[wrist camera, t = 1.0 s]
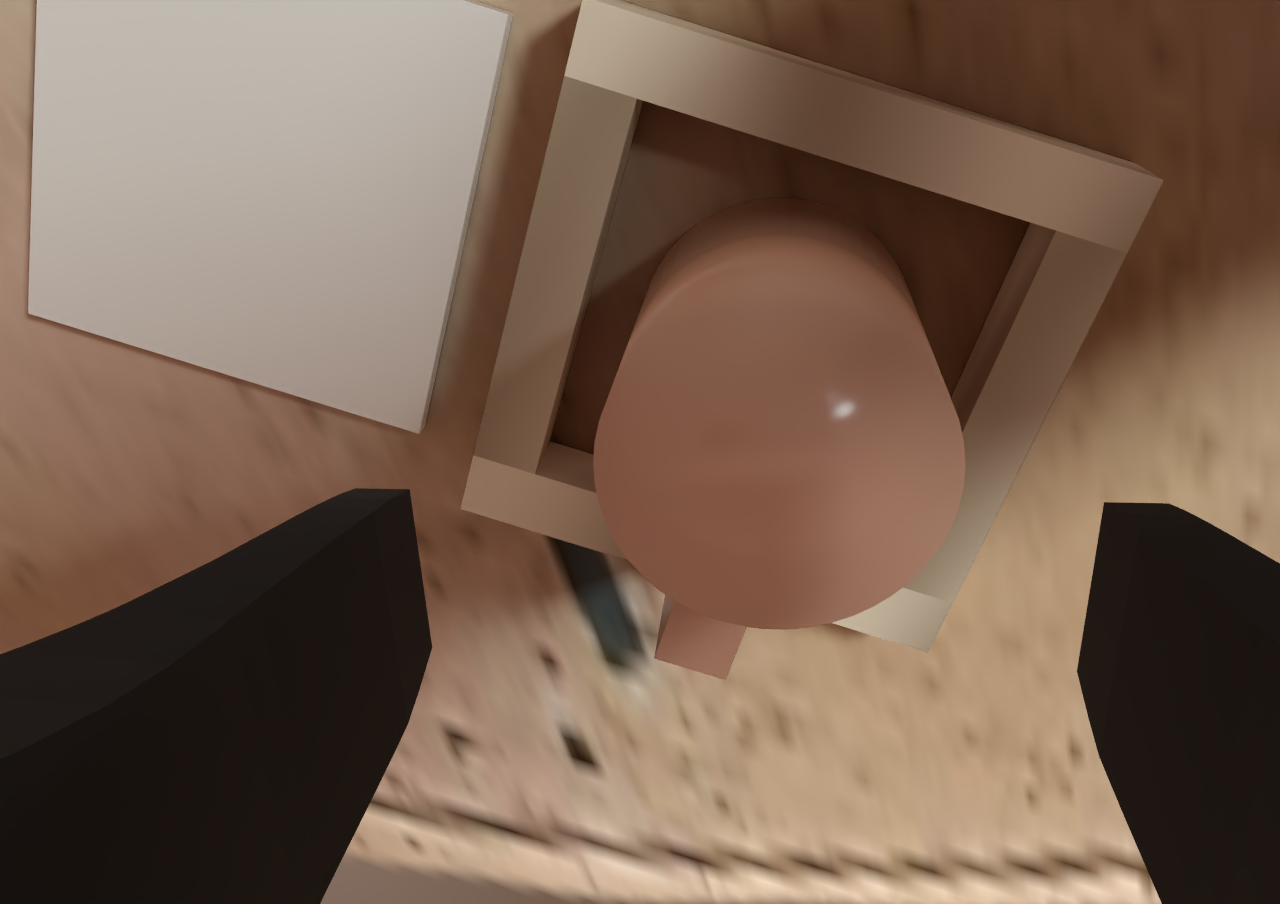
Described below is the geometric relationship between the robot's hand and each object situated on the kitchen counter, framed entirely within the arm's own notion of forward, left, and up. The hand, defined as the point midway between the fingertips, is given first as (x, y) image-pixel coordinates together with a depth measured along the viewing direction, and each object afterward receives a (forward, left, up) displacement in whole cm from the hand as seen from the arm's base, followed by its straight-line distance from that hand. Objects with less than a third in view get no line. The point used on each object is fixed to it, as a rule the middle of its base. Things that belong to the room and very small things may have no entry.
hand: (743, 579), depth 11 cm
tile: (+10, 0, -9) cm, 13 cm away
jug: (0, 0, -10) cm, 10 cm away
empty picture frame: (0, 0, -9) cm, 9 cm away
